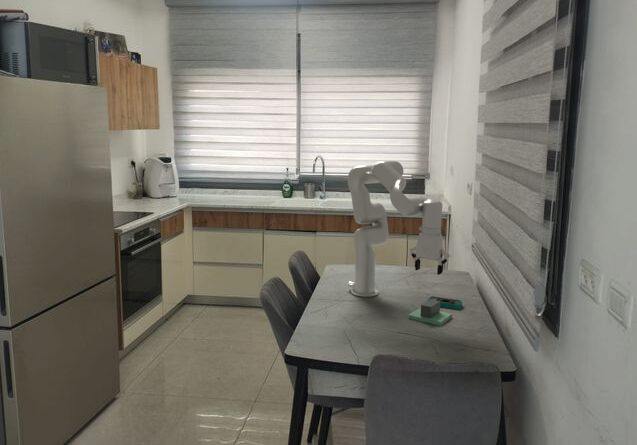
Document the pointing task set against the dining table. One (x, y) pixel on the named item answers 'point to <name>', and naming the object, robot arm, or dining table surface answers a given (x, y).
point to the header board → (436, 320)
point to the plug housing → (430, 308)
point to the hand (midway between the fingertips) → (428, 271)
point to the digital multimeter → (448, 302)
